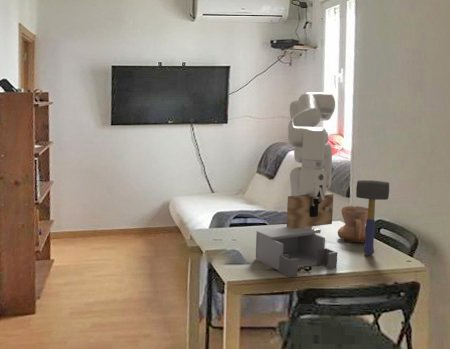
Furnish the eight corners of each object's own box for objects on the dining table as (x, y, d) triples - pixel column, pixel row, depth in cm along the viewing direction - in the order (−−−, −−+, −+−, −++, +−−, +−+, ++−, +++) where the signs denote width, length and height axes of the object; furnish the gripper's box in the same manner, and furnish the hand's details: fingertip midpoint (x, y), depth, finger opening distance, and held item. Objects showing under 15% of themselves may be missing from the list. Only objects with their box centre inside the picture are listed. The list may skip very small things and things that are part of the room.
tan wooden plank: (326, 222, 207) (328, 192, 205) (334, 224, 203) (335, 194, 201) (286, 227, 198) (287, 196, 196) (293, 229, 194) (295, 198, 193)
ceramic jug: (335, 234, 255) (337, 203, 252) (368, 235, 253) (370, 204, 251) (339, 246, 237) (340, 213, 235) (374, 247, 236) (376, 214, 233)
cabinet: (299, 252, 225) (300, 225, 224) (336, 268, 206) (338, 238, 205) (253, 259, 215) (254, 231, 213) (288, 276, 196) (289, 246, 194)
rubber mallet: (384, 254, 226) (389, 180, 221) (384, 259, 219) (390, 183, 214) (352, 251, 229) (357, 178, 224) (352, 256, 222) (356, 180, 217)
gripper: (336, 166, 193) (333, 219, 195) (306, 161, 207) (304, 210, 209) (319, 167, 189) (316, 221, 192) (290, 162, 203) (288, 212, 206)
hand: (310, 215), depth 200 cm, fingers closed on tan wooden plank, 3 cm apart
